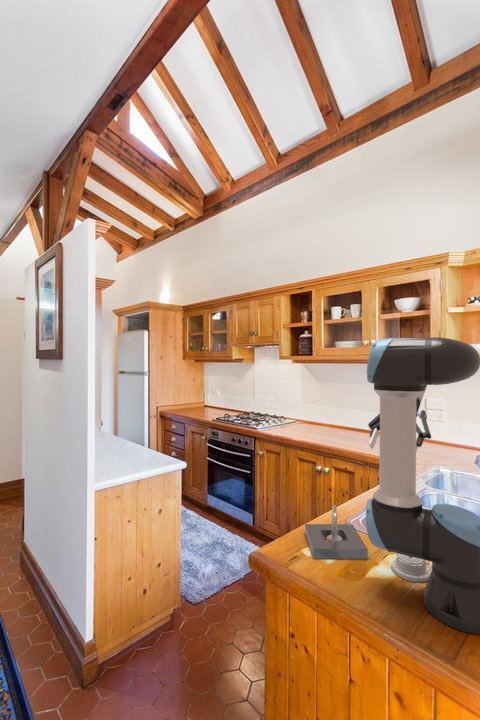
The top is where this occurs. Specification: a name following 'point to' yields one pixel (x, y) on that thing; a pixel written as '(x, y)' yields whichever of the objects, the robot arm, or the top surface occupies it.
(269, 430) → the top surface
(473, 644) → the top surface
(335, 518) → the screw
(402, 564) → the mechanical component
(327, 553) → the socket plate
